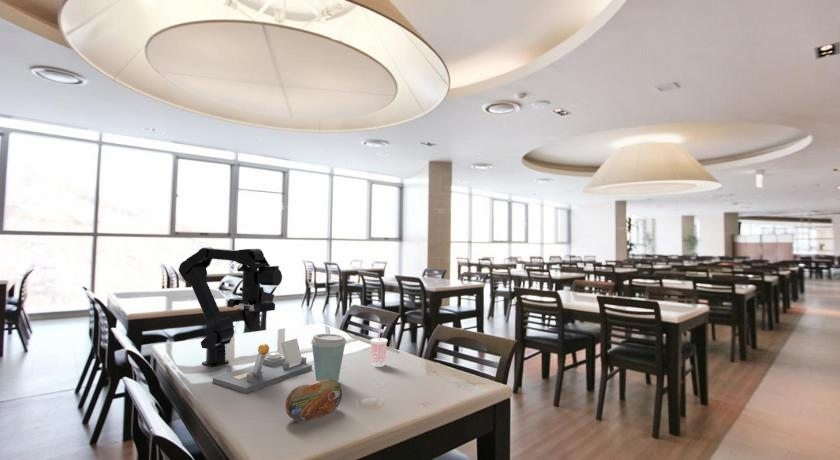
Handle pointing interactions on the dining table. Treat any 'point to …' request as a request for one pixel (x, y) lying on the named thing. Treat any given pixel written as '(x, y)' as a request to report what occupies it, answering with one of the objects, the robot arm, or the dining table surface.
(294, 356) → the grey paddle
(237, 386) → the switch panel
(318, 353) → the disposable coffee cup
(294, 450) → the dining table surface
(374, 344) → the beverage cup
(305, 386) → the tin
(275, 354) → the cream push button
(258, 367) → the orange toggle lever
